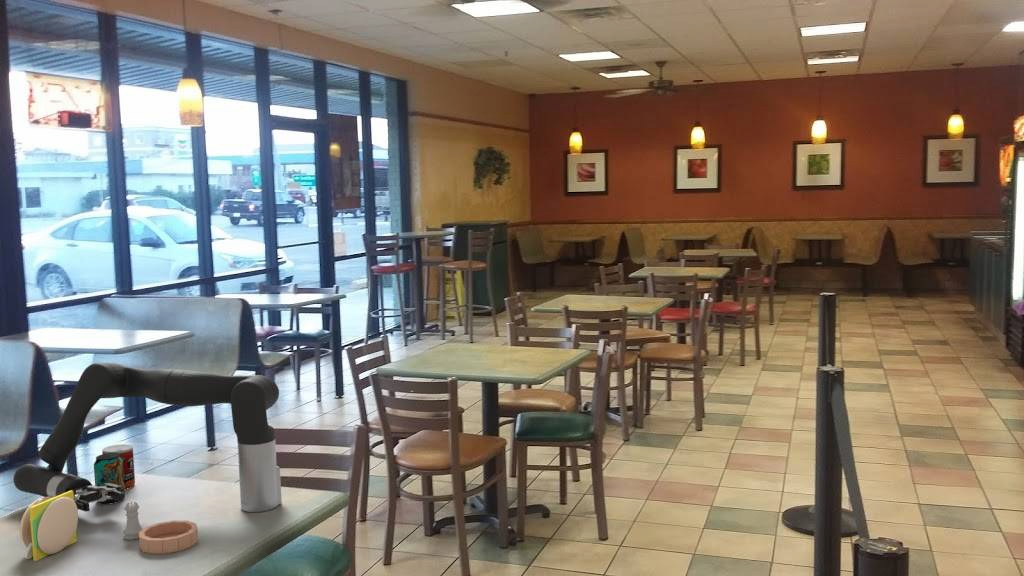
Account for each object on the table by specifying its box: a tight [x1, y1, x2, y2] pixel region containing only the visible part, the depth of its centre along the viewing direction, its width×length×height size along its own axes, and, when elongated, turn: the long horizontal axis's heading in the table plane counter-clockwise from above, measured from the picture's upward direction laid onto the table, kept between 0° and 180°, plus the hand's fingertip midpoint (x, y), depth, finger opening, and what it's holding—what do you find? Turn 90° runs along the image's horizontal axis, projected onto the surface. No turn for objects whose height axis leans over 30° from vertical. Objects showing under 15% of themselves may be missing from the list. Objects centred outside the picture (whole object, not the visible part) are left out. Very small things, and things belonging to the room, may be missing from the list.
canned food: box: [101, 443, 136, 490], centre depth 253 cm, size 8×8×11 cm
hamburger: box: [19, 491, 79, 562], centre depth 207 cm, size 12×8×12 cm
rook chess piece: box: [122, 501, 144, 541], centre depth 214 cm, size 4×4×8 cm
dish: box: [138, 520, 199, 555], centre depth 210 cm, size 12×12×3 cm
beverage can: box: [93, 453, 126, 505], centre depth 241 cm, size 7×7×12 cm
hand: (105, 502), depth 221 cm, fingers open, 8 cm apart
